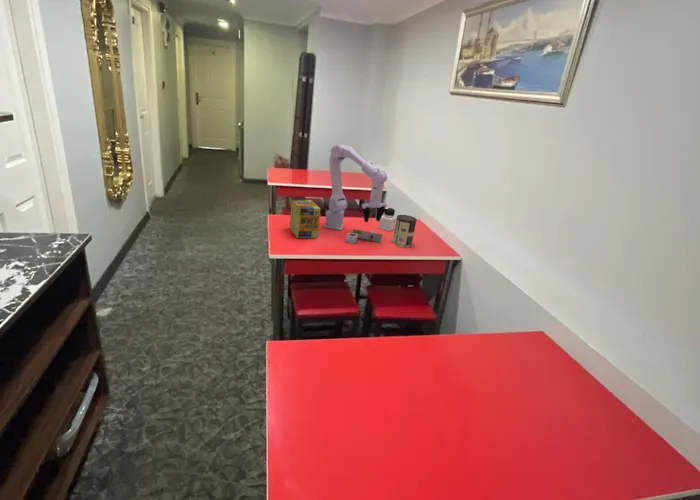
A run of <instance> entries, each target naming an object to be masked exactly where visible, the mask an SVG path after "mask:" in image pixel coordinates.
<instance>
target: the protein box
mask: <svg viewBox="0 0 700 500" xmlns="http://www.w3.org/2000/svg"><path fill="white" fill-rule="evenodd" d="M290 205H291V206H290V217H289V218H290V220H289V229H290V231H291V232H292V233H293V234H294V235H295V237H296V238H297V239H317V238H319V237H318V235H319V229H320V228H319V226H320V219H321V217H320V216H321V207H319V206H318V204H316V203H315V202H314V201H313V200H311V199H291V204H290Z"/></svg>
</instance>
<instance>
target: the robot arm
mask: <svg viewBox="0 0 700 500" xmlns="http://www.w3.org/2000/svg"><path fill="white" fill-rule="evenodd" d="M346 158H347V159H350V160H352V161H353V162H355V163H356V164H357V165H359V166H360V167H361V171H362V172H363V173H364V174H365V175H367V176H368V177H369V178H370V180H371V190H370V197H369V201H368V202H367V203H362V205H361V210H362V212H363V218H364V219H363V220H364V223H369V219H370V215H371V212H372V210H371V209H374V208H376V215H375V216H376V217H375V220H376V221H377V222H379V221H380V219H381V217H382V216H383V214H384V212H385V211H386V208H388V207H387V206H388V204H387V203H385V202H382V198H383V193H384V187H385V182H387V180H388V175H387V173H386V171H385V170H381V169H380V168H379V167H376V166H375V165H374V162H373V161H366V160H365V159H364V158H363V157H362V156H361V155H359V153H357V152H356V150H355V149H354V147H351V145H350V144H348V143H345V144H335V145H333V146H332V147H331V149H330V156H329V171H330V173H329V174H330V182H331V183H330V184H331V196H330V198H329V203H328V210H327V211H326V213H325V219H324V220H325V221H324V226H323V227H324V228H326V229H331V230H336V231H342V230H343V228H344V227H345V224H344V225H343V223H344V218H345V216H344V215H345V210H346V209H347V208H348V204H349V203H348V202H347V201H348V200H347V199H346V196H345V194H344V192H343V183H342V181H343V180H342V172H341V171H342V170H341V163H342V162H343V161H344V160H345V159H346Z"/></svg>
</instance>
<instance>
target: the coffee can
mask: <svg viewBox="0 0 700 500" xmlns="http://www.w3.org/2000/svg"><path fill="white" fill-rule="evenodd" d="M417 220H418V219H417V218H416V217H414V216H411V215H408V214H397V216H396V223H395V228H394V229H393V230H394V231H393V237H392V241H391V242H392V244H394V245H396V246H398V247H403V248H410V247H412V246H413V245H412V243H413V239H414V233H415V230H416V229H415V228H416V225H417Z"/></svg>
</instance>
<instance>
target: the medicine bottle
mask: <svg viewBox="0 0 700 500" xmlns="http://www.w3.org/2000/svg"><path fill="white" fill-rule="evenodd" d="M395 211H396V210H395V209H394V208H392V207H386V211H385V212H384V213H383V215H382V217H381V219H380V221H378V229H380V230H383V231H385V232H390V231H393V230H395V225H396V219H397V216H395V213H396V212H395Z"/></svg>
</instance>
